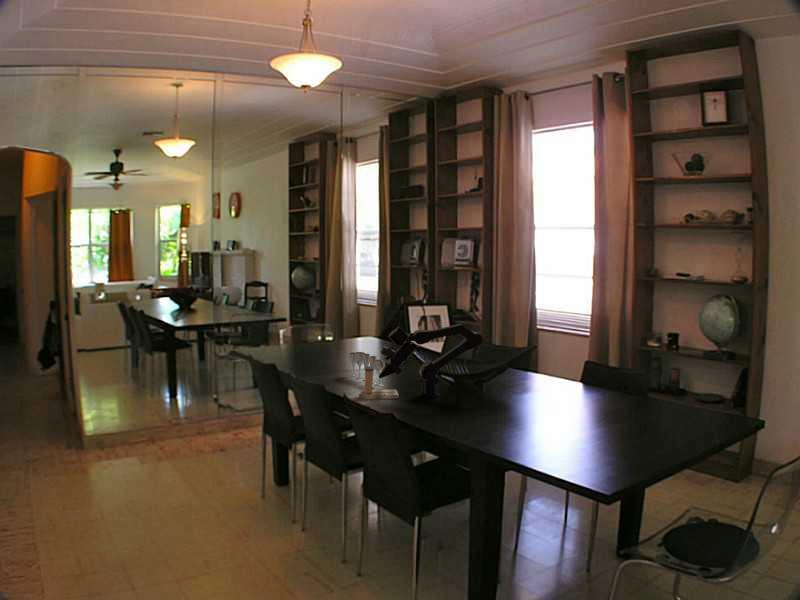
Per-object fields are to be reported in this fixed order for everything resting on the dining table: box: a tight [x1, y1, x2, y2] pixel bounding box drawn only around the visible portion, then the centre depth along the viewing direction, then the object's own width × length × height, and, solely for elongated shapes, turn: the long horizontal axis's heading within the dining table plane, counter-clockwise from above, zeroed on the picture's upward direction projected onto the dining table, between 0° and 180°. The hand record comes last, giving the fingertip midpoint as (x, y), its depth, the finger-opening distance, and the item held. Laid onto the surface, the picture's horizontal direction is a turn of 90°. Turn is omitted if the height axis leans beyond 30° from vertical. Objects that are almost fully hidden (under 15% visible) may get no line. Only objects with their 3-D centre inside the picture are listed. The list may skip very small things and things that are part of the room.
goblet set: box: [348, 351, 386, 387], centre depth 298 cm, size 28×6×13 cm, turn 38°
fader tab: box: [363, 365, 373, 393], centre depth 269 cm, size 4×6×11 cm, turn 7°
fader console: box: [360, 389, 400, 400], centre depth 270 cm, size 16×10×2 cm, turn 97°
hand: (379, 377), depth 269 cm, fingers closed
